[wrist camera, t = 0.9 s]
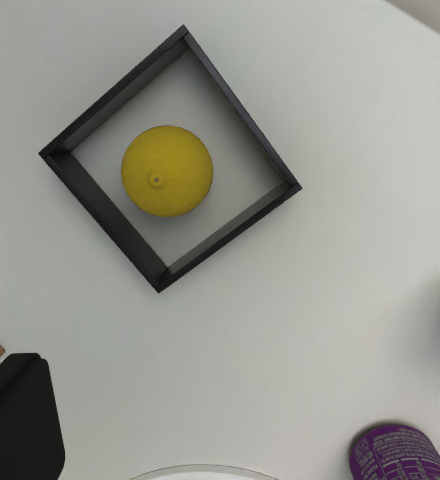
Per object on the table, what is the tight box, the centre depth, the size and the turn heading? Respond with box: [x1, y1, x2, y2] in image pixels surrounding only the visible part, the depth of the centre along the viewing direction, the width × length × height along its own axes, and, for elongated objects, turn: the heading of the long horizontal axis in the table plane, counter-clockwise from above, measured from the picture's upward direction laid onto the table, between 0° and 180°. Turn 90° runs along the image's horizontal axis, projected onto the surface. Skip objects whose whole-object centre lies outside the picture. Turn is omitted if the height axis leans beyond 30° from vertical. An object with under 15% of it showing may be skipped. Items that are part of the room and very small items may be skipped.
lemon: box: [121, 126, 213, 217], centre depth 25 cm, size 6×6×8 cm
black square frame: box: [38, 25, 302, 293], centre depth 27 cm, size 12×12×4 cm
